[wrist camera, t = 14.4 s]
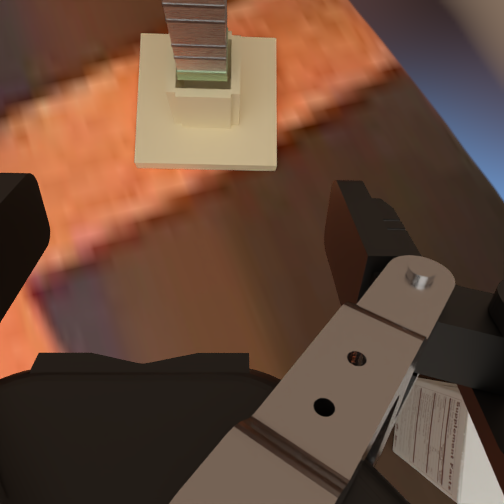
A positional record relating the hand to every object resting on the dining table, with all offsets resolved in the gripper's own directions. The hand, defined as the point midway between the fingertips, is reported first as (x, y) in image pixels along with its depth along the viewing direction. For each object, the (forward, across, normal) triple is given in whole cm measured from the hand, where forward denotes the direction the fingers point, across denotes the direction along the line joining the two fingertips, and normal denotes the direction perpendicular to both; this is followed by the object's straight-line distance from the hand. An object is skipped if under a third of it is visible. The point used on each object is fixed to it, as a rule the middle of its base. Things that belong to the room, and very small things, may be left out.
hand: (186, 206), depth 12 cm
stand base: (+35, +2, +8) cm, 36 cm away
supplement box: (+13, -20, +30) cm, 39 cm away
